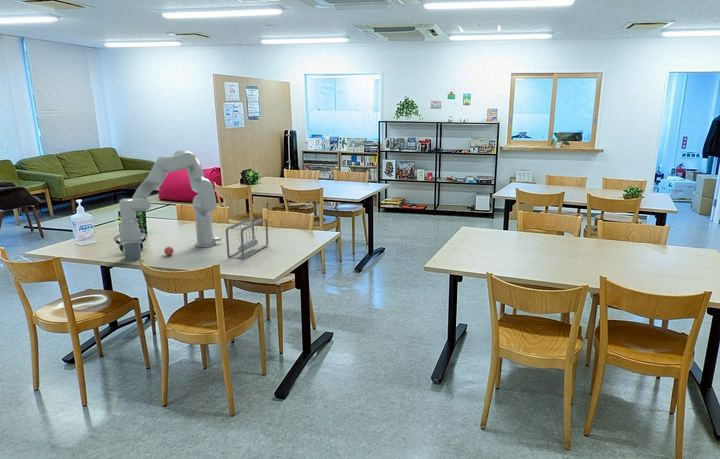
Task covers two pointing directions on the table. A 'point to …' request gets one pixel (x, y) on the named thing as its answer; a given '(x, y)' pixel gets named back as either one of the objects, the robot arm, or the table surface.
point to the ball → (168, 250)
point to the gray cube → (132, 250)
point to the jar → (141, 239)
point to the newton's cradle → (250, 243)
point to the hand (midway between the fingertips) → (131, 250)
